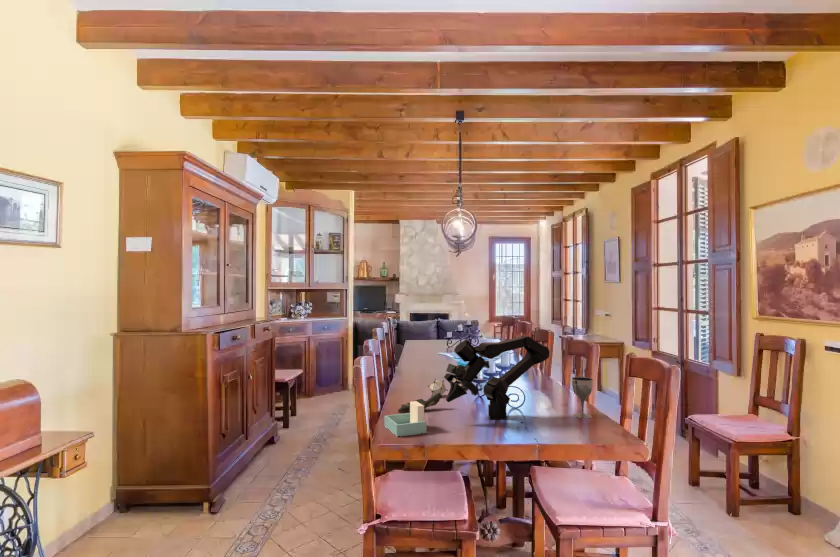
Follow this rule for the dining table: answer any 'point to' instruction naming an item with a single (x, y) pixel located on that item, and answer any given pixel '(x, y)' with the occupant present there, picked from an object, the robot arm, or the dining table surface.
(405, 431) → the box
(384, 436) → the dining table surface
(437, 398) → the statue
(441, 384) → the game die
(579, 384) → the wine glass
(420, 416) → the bookend
